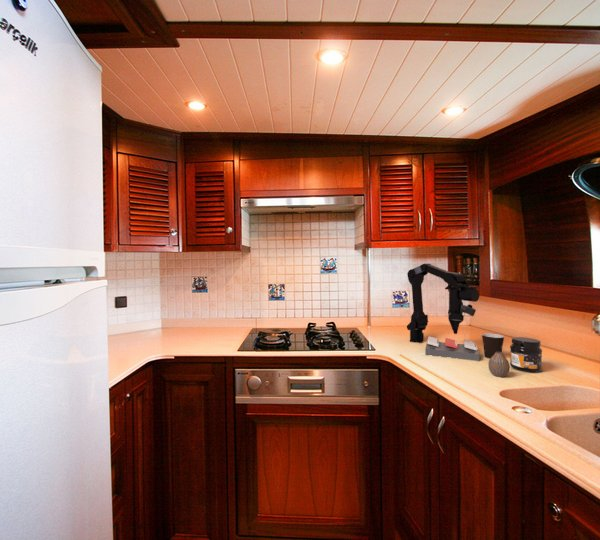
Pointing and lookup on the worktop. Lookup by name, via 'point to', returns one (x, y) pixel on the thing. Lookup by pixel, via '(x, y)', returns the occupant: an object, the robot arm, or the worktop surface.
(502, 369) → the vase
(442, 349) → the rocker switch panel
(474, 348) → the rocker right
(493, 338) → the coffee mug
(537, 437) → the worktop surface
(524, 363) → the supplement container
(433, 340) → the plate
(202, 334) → the worktop surface
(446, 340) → the rocker red
